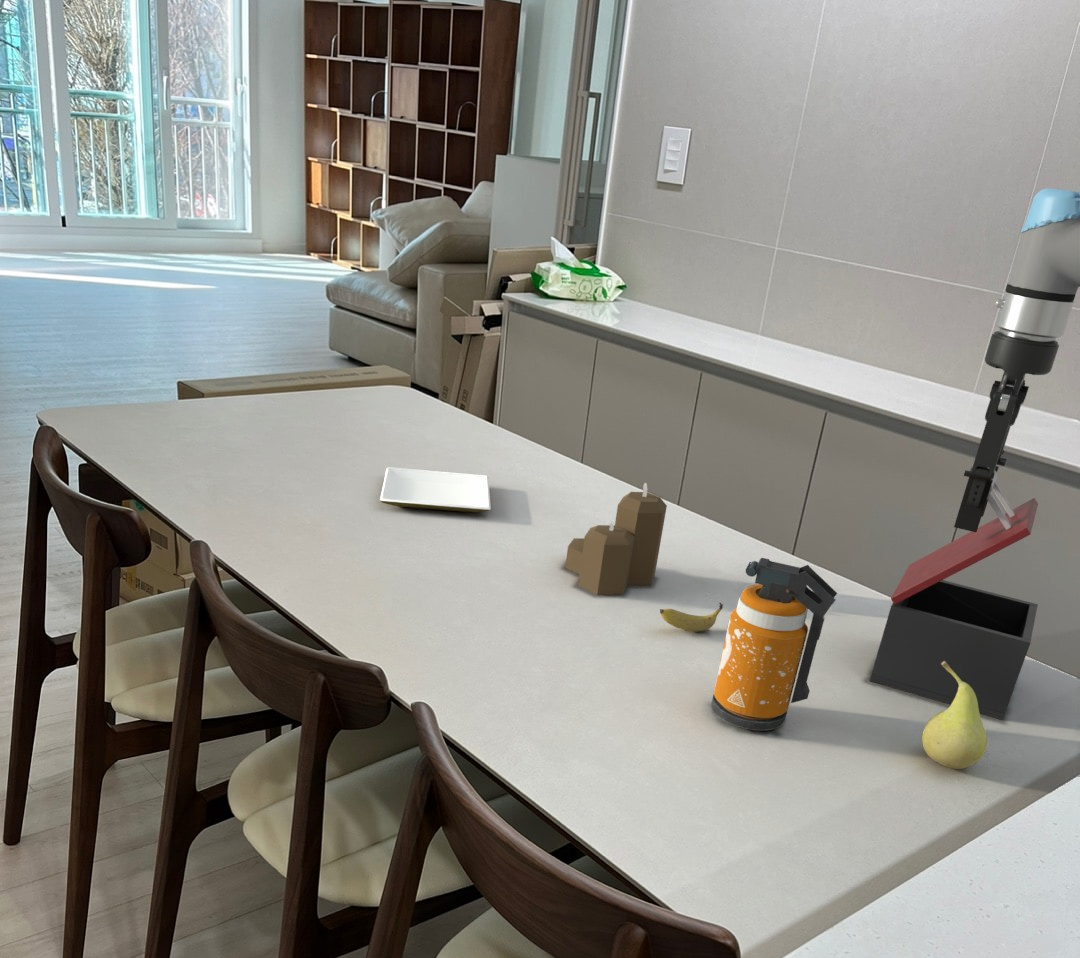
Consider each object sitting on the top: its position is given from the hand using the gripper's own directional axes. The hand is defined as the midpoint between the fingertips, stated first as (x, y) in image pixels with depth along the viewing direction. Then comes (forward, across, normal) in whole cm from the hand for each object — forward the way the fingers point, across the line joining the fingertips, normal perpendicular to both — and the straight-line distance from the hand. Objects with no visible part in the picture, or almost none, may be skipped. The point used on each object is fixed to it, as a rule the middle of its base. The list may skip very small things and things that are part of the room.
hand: (969, 520), depth 135 cm
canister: (+22, +28, -16) cm, 39 cm away
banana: (+22, +9, -31) cm, 39 cm away
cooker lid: (+4, 0, +1) cm, 4 cm away
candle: (+22, -3, -47) cm, 52 cm away
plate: (+22, -15, -87) cm, 91 cm away
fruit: (+22, +24, +6) cm, 33 cm away
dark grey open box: (+22, 0, +3) cm, 22 cm away
